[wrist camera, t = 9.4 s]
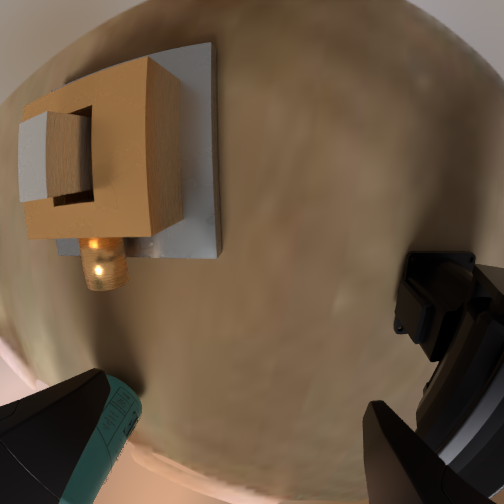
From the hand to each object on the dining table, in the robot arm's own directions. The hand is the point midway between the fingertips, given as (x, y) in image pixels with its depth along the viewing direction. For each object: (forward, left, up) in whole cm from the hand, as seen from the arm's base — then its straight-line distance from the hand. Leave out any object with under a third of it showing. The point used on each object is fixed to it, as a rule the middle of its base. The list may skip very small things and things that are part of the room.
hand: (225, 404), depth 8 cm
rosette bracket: (+10, -8, -12) cm, 17 cm away
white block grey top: (+10, -9, -12) cm, 17 cm away
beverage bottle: (+15, +14, -12) cm, 23 cm away
